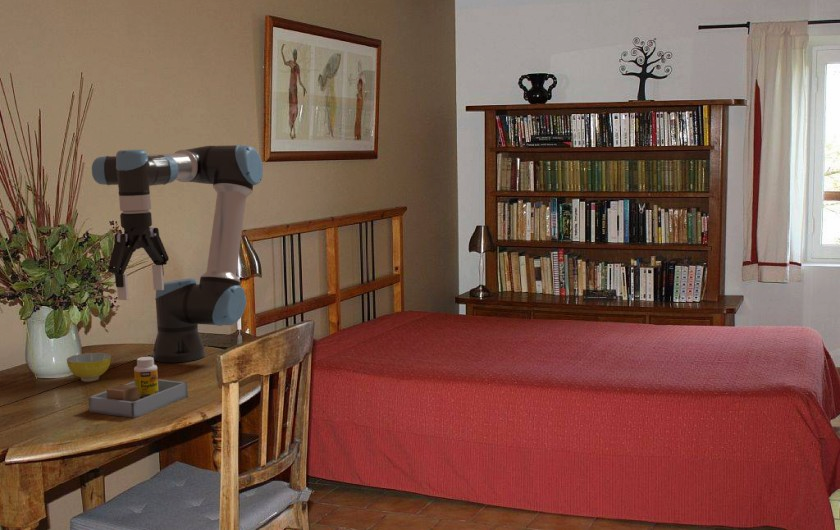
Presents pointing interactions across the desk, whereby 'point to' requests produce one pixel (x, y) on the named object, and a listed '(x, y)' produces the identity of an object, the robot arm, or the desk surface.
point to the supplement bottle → (146, 377)
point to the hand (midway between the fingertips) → (141, 294)
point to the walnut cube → (123, 393)
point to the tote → (165, 396)
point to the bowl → (89, 365)
